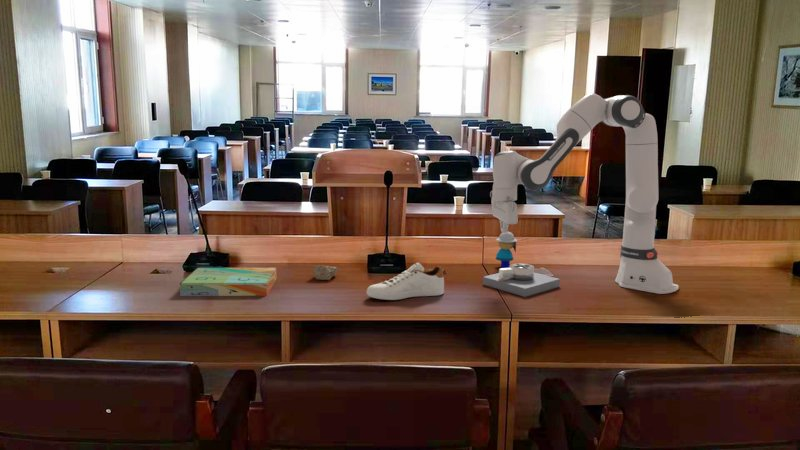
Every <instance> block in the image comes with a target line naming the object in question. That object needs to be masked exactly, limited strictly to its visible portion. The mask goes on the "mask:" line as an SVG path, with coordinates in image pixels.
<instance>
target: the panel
mask: <svg viewBox="0 0 800 450" xmlns="http://www.w3.org/2000/svg"><path fill="white" fill-rule="evenodd" d="M560 281H561V279H560V278H557V277H554V276H550V275H545V274H542V273H539V272H538V273H537V272H534V278H533V279H531V280H516V279H512V278H509V279H501V278H499V272H497V273H492V274H488V275H485V276H483V277H482V285H484V286H487V287H490V288H494V289H497V290H501V291H505V292H507V293H512V294H515V295H518V296H521V297H524V298H526V297H529V296H533V295H536V294H540V293H543V292H546V291H549V290H553V289H556V288H560V283H561V282H560Z"/></svg>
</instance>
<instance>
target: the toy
mask: <svg viewBox="0 0 800 450" xmlns="http://www.w3.org/2000/svg"><path fill="white" fill-rule="evenodd" d="M495 241H497V242H498V246H499V248H500V249H499V250H498V251H497V253H496V255H495V256H496V257H495V260H497V261H500V267H501V268H510V265H511V263H510V262H512V261H514V256H513V253H512V249H513V250H514V252H515V253H516V251H517V242H518V239H517V238H515V236H514V234H513V233H512V232H511V231H508V232H507V233H503V232H501V233H500V234H499V237H498V238H496V239H495Z"/></svg>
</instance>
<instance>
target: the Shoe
mask: <svg viewBox="0 0 800 450" xmlns="http://www.w3.org/2000/svg"><path fill="white" fill-rule="evenodd" d="M444 293H445V279H444V273H443V268H442V267H441V266H439V265H435V266H434V268H433V269H432V270H428V271H426V270H425V267H424V266H423V265H422V264H421V263H419V262H416V263H413V264H412V265H411V266H410V267H409V268H408V269H407V270H404V271H402V272H401V273H399V274H397V276H393V278H389V280H384V281H380V282H379V283H376V284H375V283H374V284H371V285H369V286H368V287H367V289H366V295H367V296H368V297H370V298H372V299H377V300H385V301H398V300H404V299H408V298H417V297H437V296H442V295H443V294H444Z"/></svg>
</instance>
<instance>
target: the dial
mask: <svg viewBox="0 0 800 450" xmlns="http://www.w3.org/2000/svg"><path fill="white" fill-rule="evenodd" d="M498 273H499V278H501V279H509V278H512V279H516V280H531V279H533V278H534V273H535V266H534V265H532V264H529V263H522V262H521V263H512V264H511V263H510V265H509V268H502V267H501V268H499V269H498Z"/></svg>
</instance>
